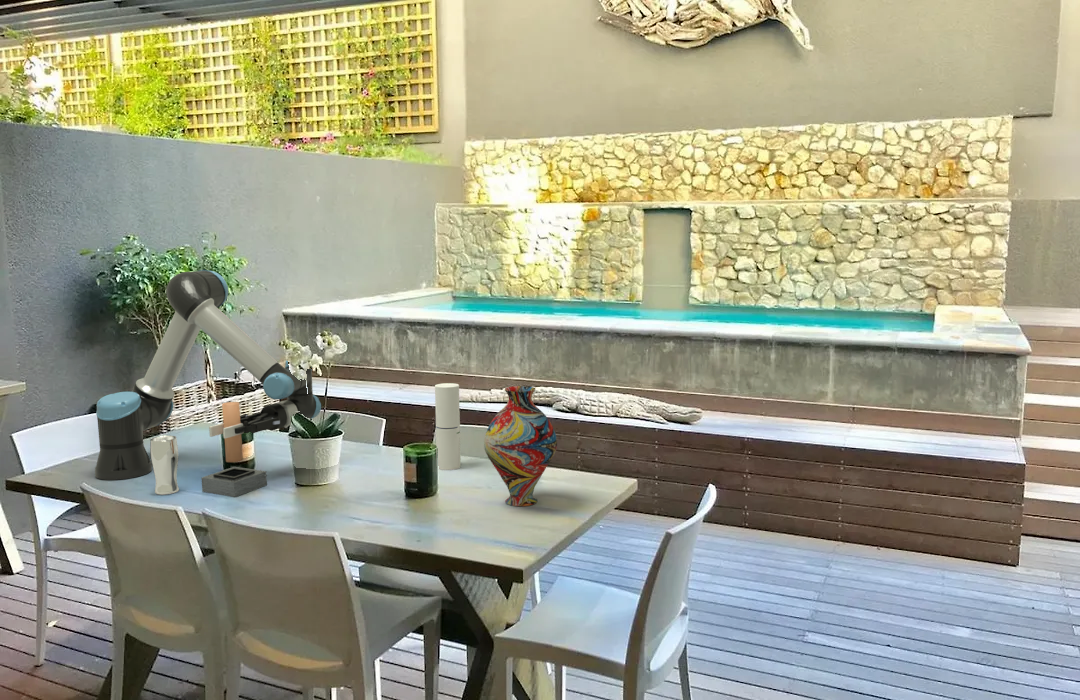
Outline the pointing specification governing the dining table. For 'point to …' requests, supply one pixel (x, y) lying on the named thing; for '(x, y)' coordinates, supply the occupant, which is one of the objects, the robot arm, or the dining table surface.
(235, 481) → the collar block
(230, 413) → the terracotta peg
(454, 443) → the cylindrical container
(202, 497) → the dining table surface
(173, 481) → the beer glass
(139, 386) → the robot arm
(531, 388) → the vase
